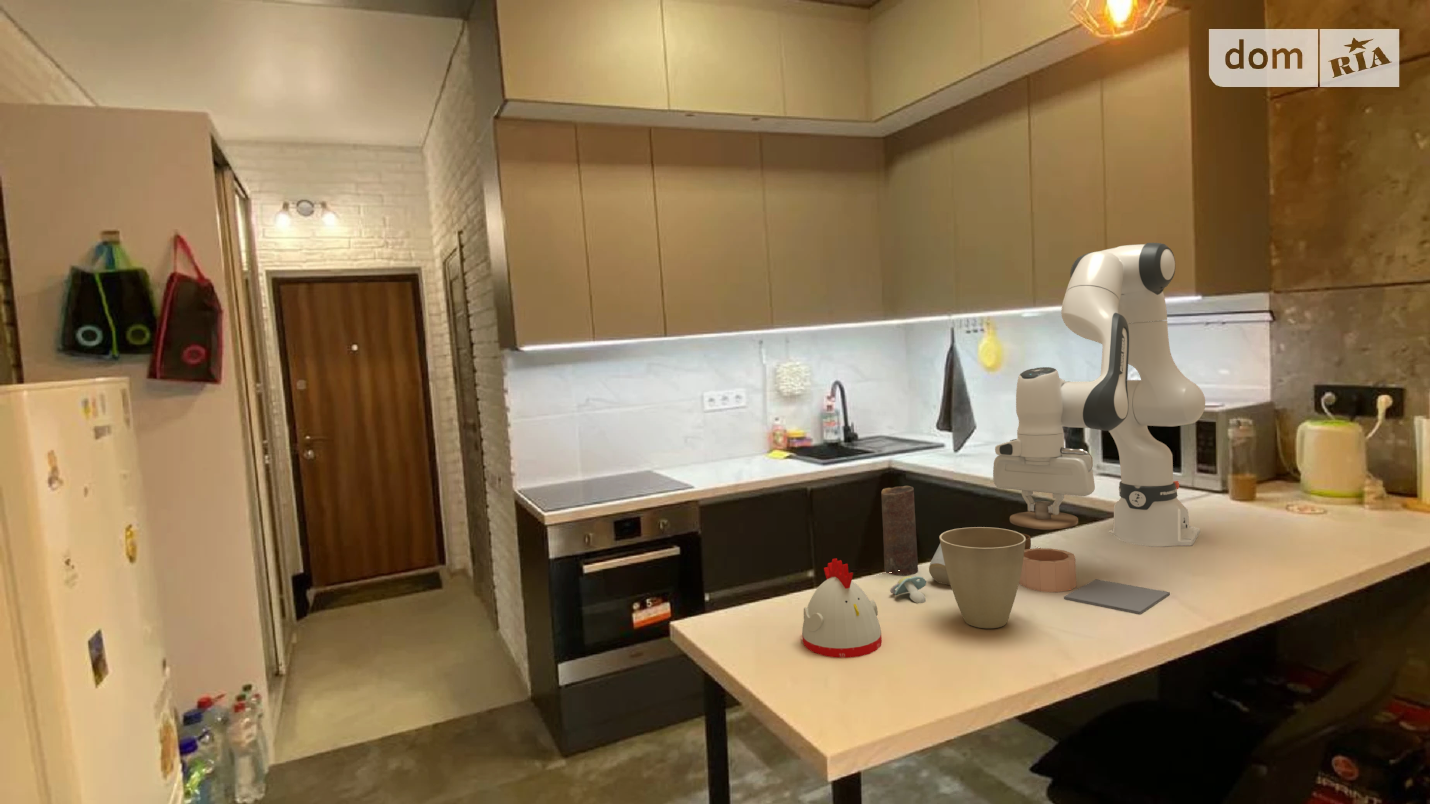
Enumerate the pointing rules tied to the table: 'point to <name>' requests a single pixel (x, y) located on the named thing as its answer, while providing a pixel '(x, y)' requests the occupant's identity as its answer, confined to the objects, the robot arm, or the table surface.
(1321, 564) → the table surface
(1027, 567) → the bowl
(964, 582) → the plant pot
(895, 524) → the brown textured cylinder
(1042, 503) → the lid
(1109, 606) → the mat
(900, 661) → the table surface
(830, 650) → the kitchen timer
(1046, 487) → the robot arm
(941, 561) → the ceramic mug
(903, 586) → the pacifier
